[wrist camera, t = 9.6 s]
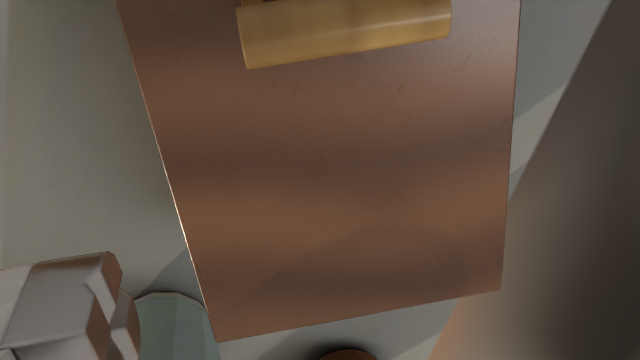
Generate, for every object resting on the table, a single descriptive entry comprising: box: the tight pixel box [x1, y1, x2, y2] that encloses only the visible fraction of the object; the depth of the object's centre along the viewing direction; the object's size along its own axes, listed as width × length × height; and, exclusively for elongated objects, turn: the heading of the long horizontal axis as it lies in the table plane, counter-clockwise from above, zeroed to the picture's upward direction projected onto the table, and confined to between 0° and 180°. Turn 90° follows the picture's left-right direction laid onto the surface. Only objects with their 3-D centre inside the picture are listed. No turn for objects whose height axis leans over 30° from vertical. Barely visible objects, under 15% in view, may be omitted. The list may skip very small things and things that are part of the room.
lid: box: [114, 0, 521, 343], centre depth 22 cm, size 18×14×5 cm
